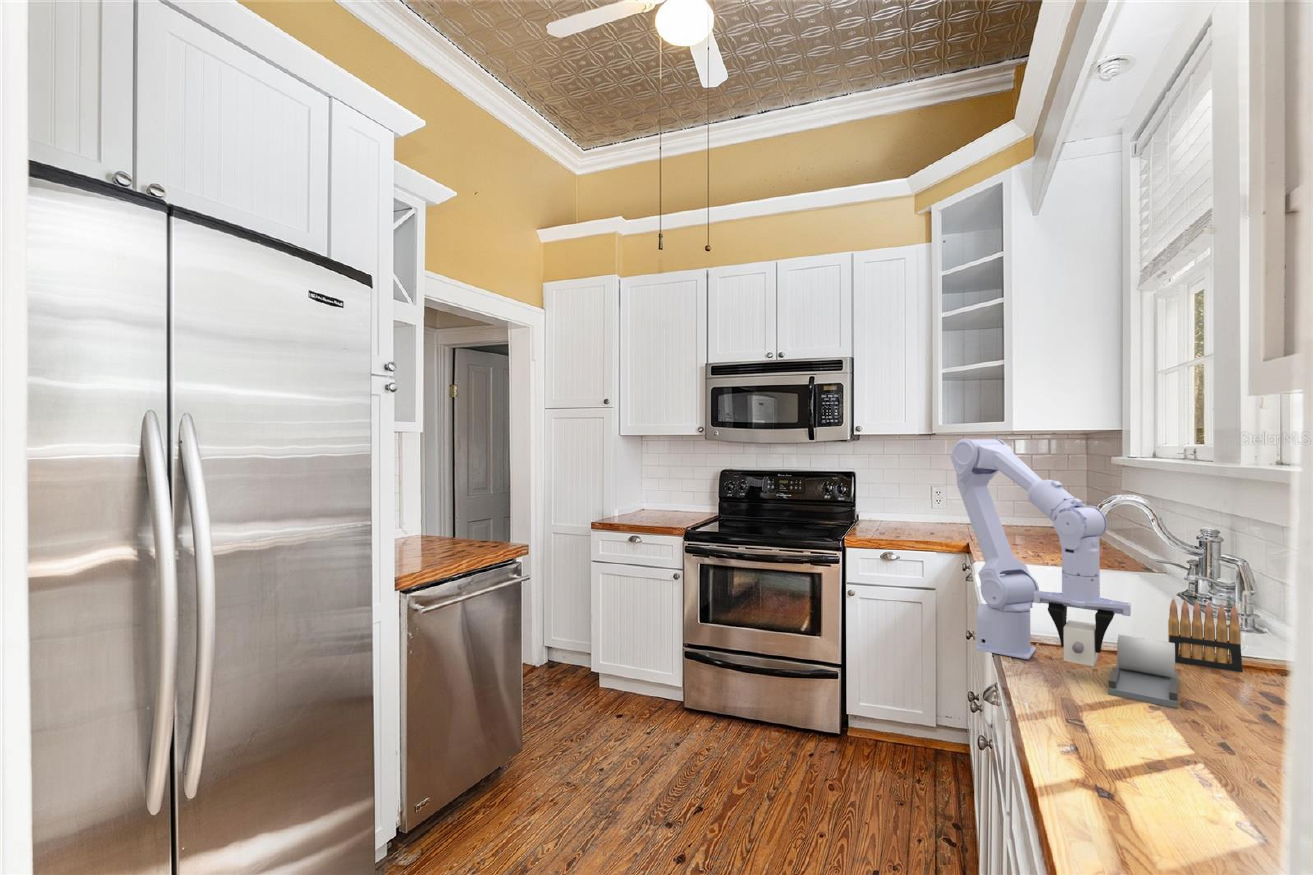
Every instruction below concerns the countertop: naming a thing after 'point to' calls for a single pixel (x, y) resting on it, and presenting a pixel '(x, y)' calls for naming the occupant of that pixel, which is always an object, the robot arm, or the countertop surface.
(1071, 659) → the block
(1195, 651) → the ammunition clip
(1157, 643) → the motor mount
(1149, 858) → the countertop surface
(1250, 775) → the countertop surface
